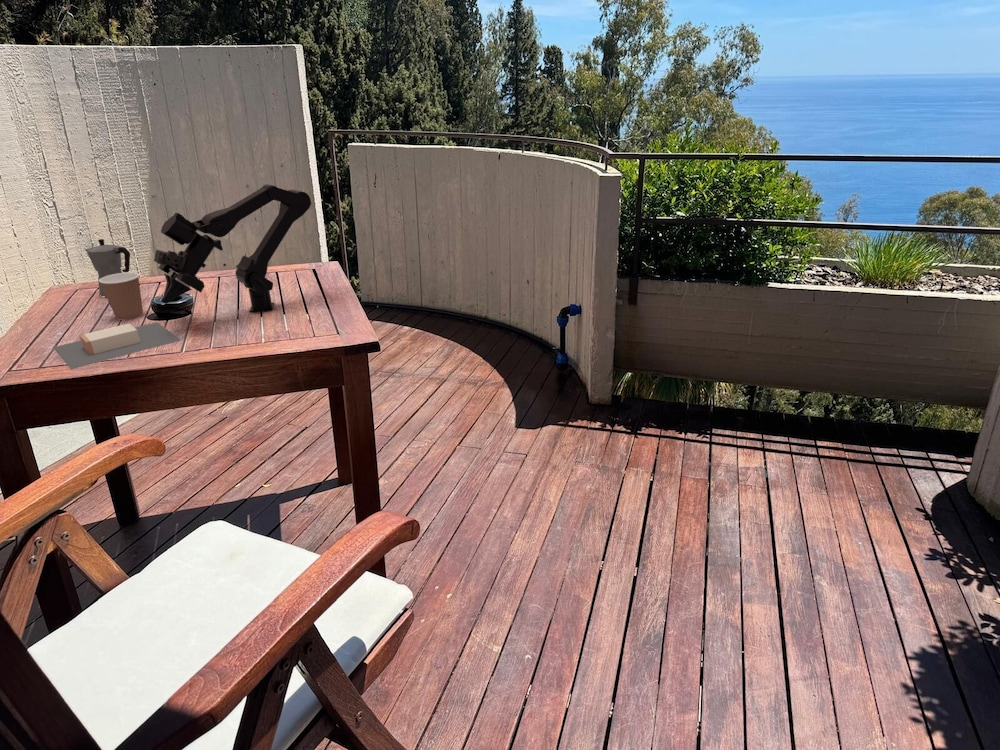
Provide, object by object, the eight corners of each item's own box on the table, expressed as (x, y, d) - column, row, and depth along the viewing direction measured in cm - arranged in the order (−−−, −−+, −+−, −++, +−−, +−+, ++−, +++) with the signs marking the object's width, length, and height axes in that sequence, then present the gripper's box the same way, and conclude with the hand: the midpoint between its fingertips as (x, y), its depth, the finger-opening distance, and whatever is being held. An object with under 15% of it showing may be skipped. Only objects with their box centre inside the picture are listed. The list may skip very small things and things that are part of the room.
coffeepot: (87, 297, 215) (71, 242, 208) (108, 289, 224) (93, 235, 216) (130, 299, 213) (115, 243, 205) (149, 290, 221) (135, 236, 214)
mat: (157, 323, 191) (156, 322, 191) (181, 341, 177) (181, 340, 177) (53, 348, 175) (52, 347, 175) (71, 370, 161) (70, 369, 161)
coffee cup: (127, 310, 202) (116, 271, 197) (156, 311, 200) (146, 272, 195) (102, 322, 193) (90, 281, 188) (133, 323, 191) (121, 283, 186)
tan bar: (129, 323, 180) (79, 335, 172) (137, 329, 175) (86, 342, 168) (132, 335, 181) (83, 347, 174) (140, 342, 176) (90, 355, 169)
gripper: (157, 232, 183) (125, 280, 181) (181, 243, 171) (147, 294, 169) (193, 255, 191) (162, 301, 189) (218, 266, 179) (186, 316, 177)
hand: (163, 302), depth 181 cm, fingers closed
